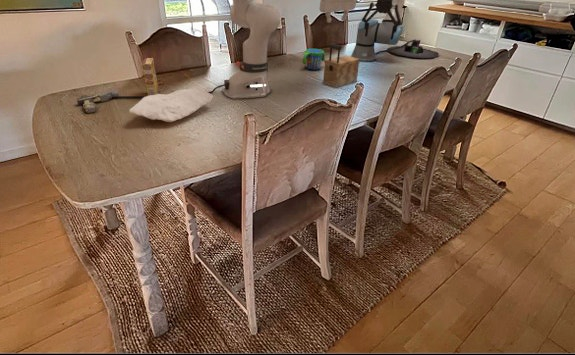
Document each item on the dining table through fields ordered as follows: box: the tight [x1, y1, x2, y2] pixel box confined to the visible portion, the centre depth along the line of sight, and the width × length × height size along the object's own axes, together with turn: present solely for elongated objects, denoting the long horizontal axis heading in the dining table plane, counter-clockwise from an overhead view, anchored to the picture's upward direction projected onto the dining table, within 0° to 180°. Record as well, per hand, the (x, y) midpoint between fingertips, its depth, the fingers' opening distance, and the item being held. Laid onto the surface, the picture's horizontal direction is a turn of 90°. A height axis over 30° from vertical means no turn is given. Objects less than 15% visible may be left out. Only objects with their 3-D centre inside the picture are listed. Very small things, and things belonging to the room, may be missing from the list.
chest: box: [322, 61, 360, 88], centre depth 190 cm, size 17×9×10 cm, turn 132°
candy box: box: [141, 57, 160, 96], centre depth 163 cm, size 9×4×15 cm, turn 13°
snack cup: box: [302, 48, 326, 71], centre depth 209 cm, size 16×10×10 cm
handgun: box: [76, 89, 120, 114], centre depth 155 cm, size 3×18×15 cm
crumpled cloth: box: [129, 88, 214, 123], centre depth 147 cm, size 24×35×9 cm
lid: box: [323, 43, 360, 67], centre depth 184 cm, size 17×9×10 cm, turn 132°
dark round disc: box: [386, 38, 439, 59], centre depth 252 cm, size 35×35×9 cm
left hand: (336, 21), depth 172 cm, fingers open, 8 cm apart
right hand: (378, 37), depth 192 cm, fingers open, 13 cm apart
